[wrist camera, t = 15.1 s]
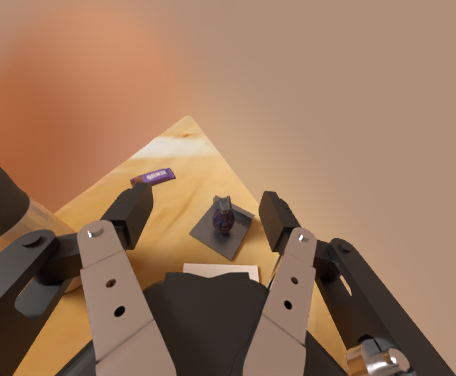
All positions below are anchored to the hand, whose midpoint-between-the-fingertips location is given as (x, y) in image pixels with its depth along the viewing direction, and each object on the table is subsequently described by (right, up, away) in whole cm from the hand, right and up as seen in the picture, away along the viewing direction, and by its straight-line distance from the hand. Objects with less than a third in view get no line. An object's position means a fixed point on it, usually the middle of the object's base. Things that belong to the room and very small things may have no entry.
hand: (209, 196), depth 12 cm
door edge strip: (0, -17, +21) cm, 26 cm away
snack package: (-21, +3, +37) cm, 43 cm away
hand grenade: (0, -9, +27) cm, 28 cm away
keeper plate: (0, -9, +27) cm, 29 cm away
